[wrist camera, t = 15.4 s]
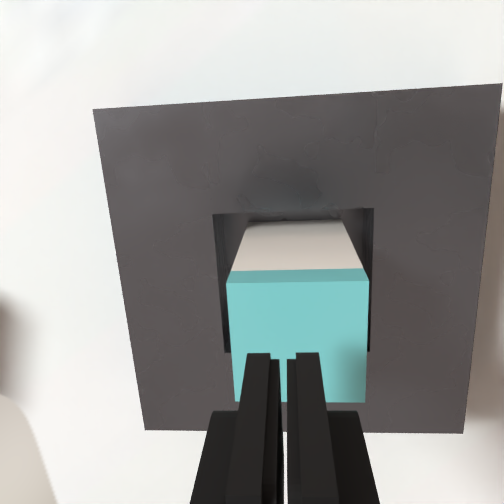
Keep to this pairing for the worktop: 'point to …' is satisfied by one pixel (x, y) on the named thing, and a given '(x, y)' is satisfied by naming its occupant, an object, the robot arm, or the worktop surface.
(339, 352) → the plug
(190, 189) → the port panel
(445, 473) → the worktop surface
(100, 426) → the worktop surface
